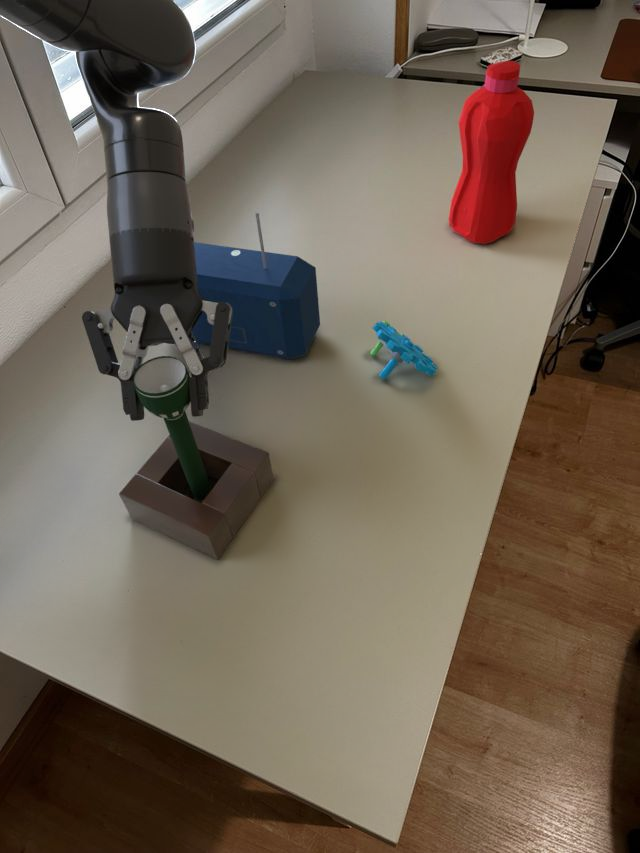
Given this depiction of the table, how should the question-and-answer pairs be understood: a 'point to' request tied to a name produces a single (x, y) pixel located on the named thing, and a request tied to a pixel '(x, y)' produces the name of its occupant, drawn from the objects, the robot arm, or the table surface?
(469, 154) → the water bottle
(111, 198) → the robot arm
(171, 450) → the holder
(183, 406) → the flashlight
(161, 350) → the table surface
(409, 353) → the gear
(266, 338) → the radio
